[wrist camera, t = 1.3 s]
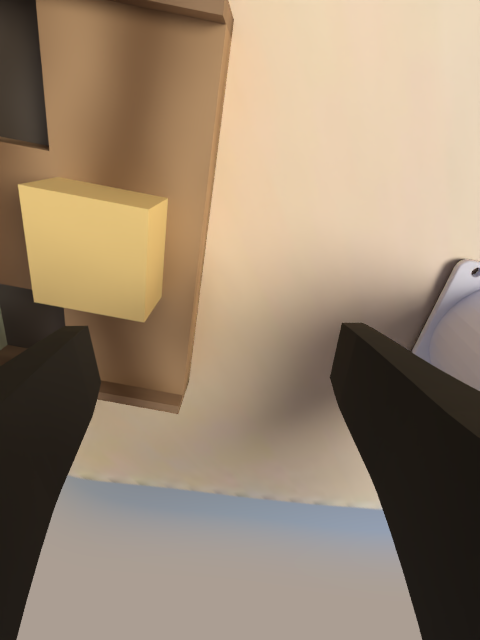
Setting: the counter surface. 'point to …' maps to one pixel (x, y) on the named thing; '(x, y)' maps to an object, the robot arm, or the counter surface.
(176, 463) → the counter surface
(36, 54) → the box
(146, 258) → the block
